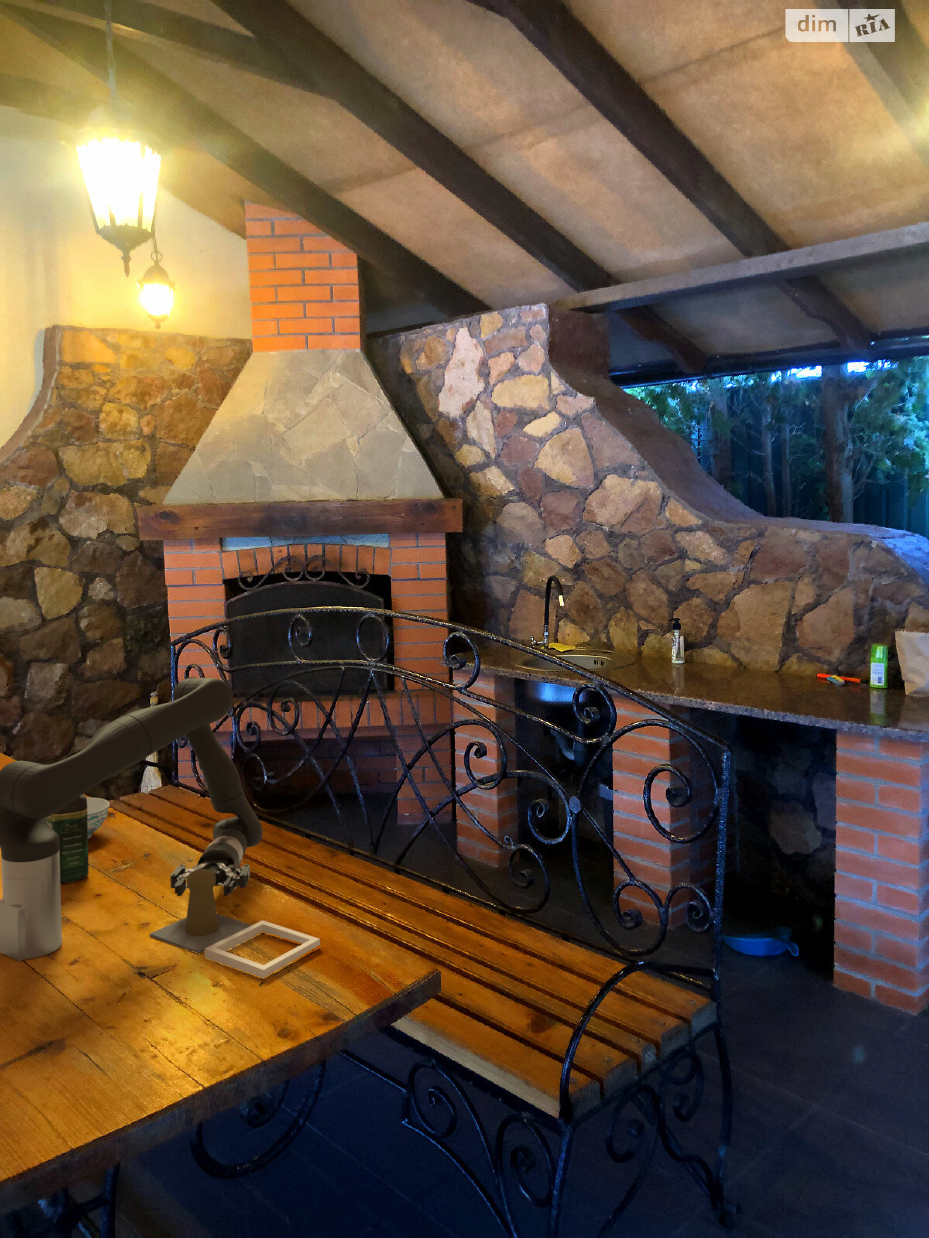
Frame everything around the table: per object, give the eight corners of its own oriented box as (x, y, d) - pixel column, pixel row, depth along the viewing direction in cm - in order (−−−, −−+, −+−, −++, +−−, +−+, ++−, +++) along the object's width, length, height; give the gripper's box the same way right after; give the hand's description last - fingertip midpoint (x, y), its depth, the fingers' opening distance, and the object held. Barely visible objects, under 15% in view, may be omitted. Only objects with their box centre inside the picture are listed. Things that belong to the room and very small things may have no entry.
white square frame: (263, 980, 152) (263, 969, 152) (204, 958, 160) (204, 948, 160) (320, 948, 164) (320, 938, 164) (262, 929, 172) (262, 920, 171)
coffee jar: (93, 879, 195) (91, 793, 193) (53, 887, 190) (50, 799, 188) (82, 865, 203) (80, 782, 201) (43, 872, 198) (40, 788, 196)
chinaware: (63, 853, 210) (62, 820, 209) (29, 839, 219) (28, 807, 218) (122, 836, 222) (121, 805, 221) (88, 823, 231) (87, 793, 230)
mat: (199, 954, 161) (199, 951, 161) (149, 935, 168) (149, 933, 168) (253, 927, 172) (253, 925, 172) (204, 911, 179) (204, 909, 179)
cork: (177, 931, 169) (176, 873, 168) (201, 919, 174) (200, 863, 173) (202, 938, 166) (201, 879, 165) (225, 926, 172) (225, 869, 170)
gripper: (185, 841, 185) (162, 871, 169) (256, 841, 186) (241, 871, 170) (185, 877, 186) (163, 910, 170) (256, 877, 187) (241, 910, 171)
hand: (202, 891), depth 170 cm, fingers open, 8 cm apart
